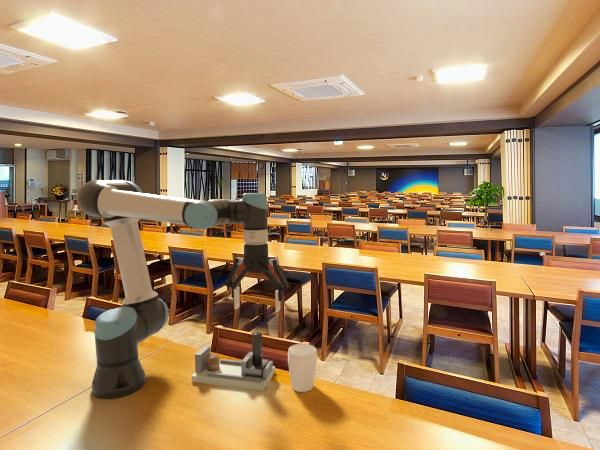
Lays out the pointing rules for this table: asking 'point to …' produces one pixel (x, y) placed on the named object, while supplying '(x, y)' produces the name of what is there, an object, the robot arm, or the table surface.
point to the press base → (228, 373)
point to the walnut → (213, 362)
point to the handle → (254, 359)
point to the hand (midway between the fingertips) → (257, 309)
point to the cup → (302, 366)
